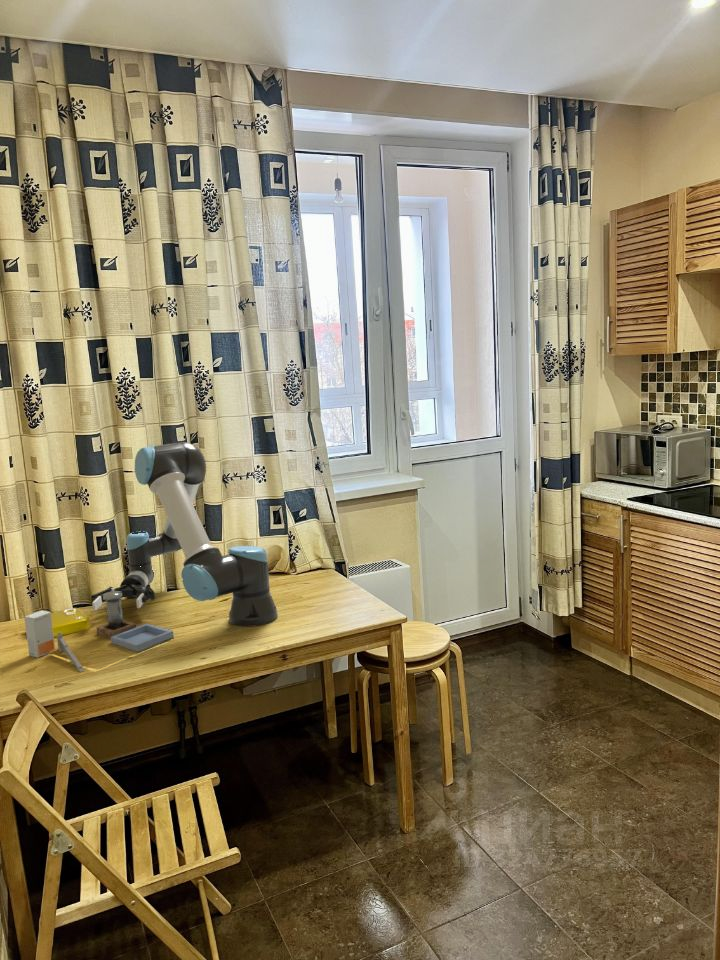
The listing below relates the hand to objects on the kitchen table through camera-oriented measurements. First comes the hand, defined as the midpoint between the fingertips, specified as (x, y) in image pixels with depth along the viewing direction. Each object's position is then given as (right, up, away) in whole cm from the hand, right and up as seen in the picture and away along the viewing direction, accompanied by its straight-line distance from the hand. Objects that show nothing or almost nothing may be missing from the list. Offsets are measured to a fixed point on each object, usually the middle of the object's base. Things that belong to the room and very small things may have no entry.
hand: (115, 605), depth 231 cm
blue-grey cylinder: (+1, -8, -2) cm, 8 cm away
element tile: (-19, -9, +4) cm, 21 cm away
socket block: (+1, -8, -2) cm, 9 cm away
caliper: (-6, -12, -22) cm, 26 cm away
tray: (+11, -9, -10) cm, 18 cm away
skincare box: (-16, -12, -15) cm, 25 cm away
